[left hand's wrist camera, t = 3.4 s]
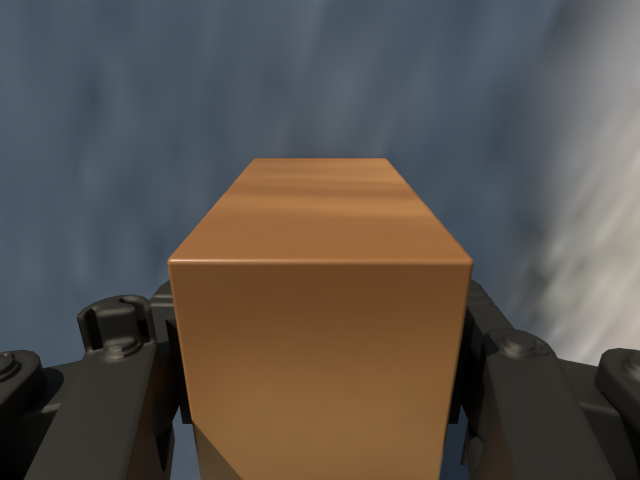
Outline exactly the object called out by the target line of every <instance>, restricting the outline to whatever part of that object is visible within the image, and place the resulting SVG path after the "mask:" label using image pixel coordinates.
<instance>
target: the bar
mask: <svg viewBox="0 0 640 480" xmlns="http://www.w3.org/2000/svg"><path fill="white" fill-rule="evenodd" d="M167 265H168V272H169V278H170V284H171V291H172V297H173V304H174V310H175V316H176V323H177V329H178V335H179V342H180V348H181V355H182V361H183V367H184V374H185V380H186V386H187V393H188V399H189V406H190V412H191V418H192V425H193V431H194V437H195V444H196V450H197V457H198V463H199V469H200V476H201V480H439V478H440V472H441V466H442V459H443V453H444V447H445V440H446V434H447V428H448V421H449V415H450V409H451V402H452V396H453V390H454V383H455V377H456V371H457V364H458V358H459V352H460V345H461V339H462V333H463V326H464V320H465V314H466V307H467V301H468V295H469V288H470V282H471V276H472V269H473V260H472V258H471V257H470V256H469V255H468V254H467V252H466V251H465V250H464V249H463V248H462V246H461V245H460V244H459V243H458V242H457V241H456V239H455V238H454V237H453V236H452V235H451V234H450V232H449V231H448V230H447V229H446V228H445V227H444V225H443V224H442V223H441V222H440V221H439V220H438V218H437V217H436V216H435V215H434V214H433V213H432V211H431V210H430V209H429V208H428V207H427V206H426V204H425V203H424V202H423V201H422V200H421V199H420V197H419V196H418V195H417V194H416V193H415V192H414V190H413V189H412V188H411V187H410V186H409V185H408V183H407V182H406V181H405V180H404V179H403V178H402V176H401V175H400V174H399V173H398V172H397V171H396V169H395V168H394V167H393V166H392V165H391V164H390V162H389V161H388V160H387V159H385V158H255V159H253V161H252V162H251V163H250V164H249V165H248V166H247V168H246V169H245V170H244V171H243V172H242V173H241V175H240V176H239V177H238V178H237V179H236V180H235V182H234V183H233V184H232V185H231V186H230V188H229V189H228V190H227V191H226V192H225V193H224V195H223V196H222V197H221V198H220V199H219V200H218V202H217V203H216V204H215V205H214V206H213V207H212V209H211V210H210V211H209V212H208V213H207V214H206V216H205V217H204V218H203V219H202V220H201V221H200V223H199V224H198V225H197V226H196V227H195V228H194V230H193V231H192V232H191V233H190V234H189V235H188V237H187V238H186V239H185V240H184V241H183V242H182V244H181V245H180V246H179V247H178V248H177V249H176V251H175V252H174V253H173V254H172V255H171V256H170V258H169V259H168V262H167Z"/></svg>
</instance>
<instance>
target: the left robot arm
mask: <svg viewBox="0 0 640 480" xmlns="http://www.w3.org/2000/svg"><path fill="white" fill-rule="evenodd" d="M487 295H488V294H487V293H486V292H485V291H484V289H483V288H482V287H481V286H480V284H478V283H476V282H475V281H473V280H472V279H471V282H470V288H469V295H468V301H467V307H466V314H465V320H464V326H463V333H462V339H461V345H460V352H459V358H458V364H457V371H456V377H455V383H454V390H453V396H452V402H451V409H450V415H449V421H448V424H458V418H459V413H460V407H461V405H462V407H463V409H464V411H465V414H466V416H467V418H468V425H467V430H466V436H465V441H464V447H463V452H462V458H461V465H464V466H466V463H467V458H468V466H469V474H470V480H640V351H639V350H634V349H623V348H616V349H609V350H607V351H606V352H604V353H603V354H602V356H601V359H600V362H599V365H598V367H597V366H592V365H587V364H582V363H577V362H572V361H567V360H563V359H559V358H557V356H556V354H555V352H554V351H553V350H552V348H551V347H550V346H549V345H548V344H547V343H546V342H544V341H543V340H541V339H540V338H539V337H537V336H535V335H532V334H530V333H527V332H525V331H521V330H516V329H514V328H513V326H512V325H511V324H510V322H509V321H508V320H507V319H506V317H505V316H504V315H503V314H502V312H501V311H500V310H499V308H498V307H497V306H496V305H494V302H493V301H492V300H491V298H490V297H488V296H487ZM76 317H77V321H78V325H79V328H80V332H81V336H82V340H83V343H84V347H85V351H86V353H85V355H84V357H83V359H82V360H81V361H77V362H73V363H68V364H63V365H58V366H52V367H47V368H43V367H42V364H41V361H40V358H39V356H38V355H37V354H36V353H34V352H33V351H26V350H16V351H6V352H2V353H0V480H170V475H171V467H172V458H173V450H174V442H175V437H174V430H173V425H172V421H173V419H174V417H175V414H176V412H177V410H178V407H179V405H180V411H181V417H182V423H183V424H192V418H191V412H190V406H189V399H188V393H187V386H186V380H185V374H184V367H183V361H182V355H181V348H180V342H179V335H178V329H177V323H176V316H175V310H174V304H173V297H172V291H171V284H170V280H169V281H168V282H166V283H165V284H163V285H161V286H160V288H159V289H158V290H157V291H156V293H155V294H154V295H153V298H151V299H150V300H147V299H146V298H145V297H142V296H137V295H120V296H115V297H109V298H106V299H103V300H100V301H97V302H95V303H93V304H91V305H89V306H88V307H86V308H84V309H83V310H82V311H81V312H80V313H79V314H78V315H77V316H76Z"/></svg>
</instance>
